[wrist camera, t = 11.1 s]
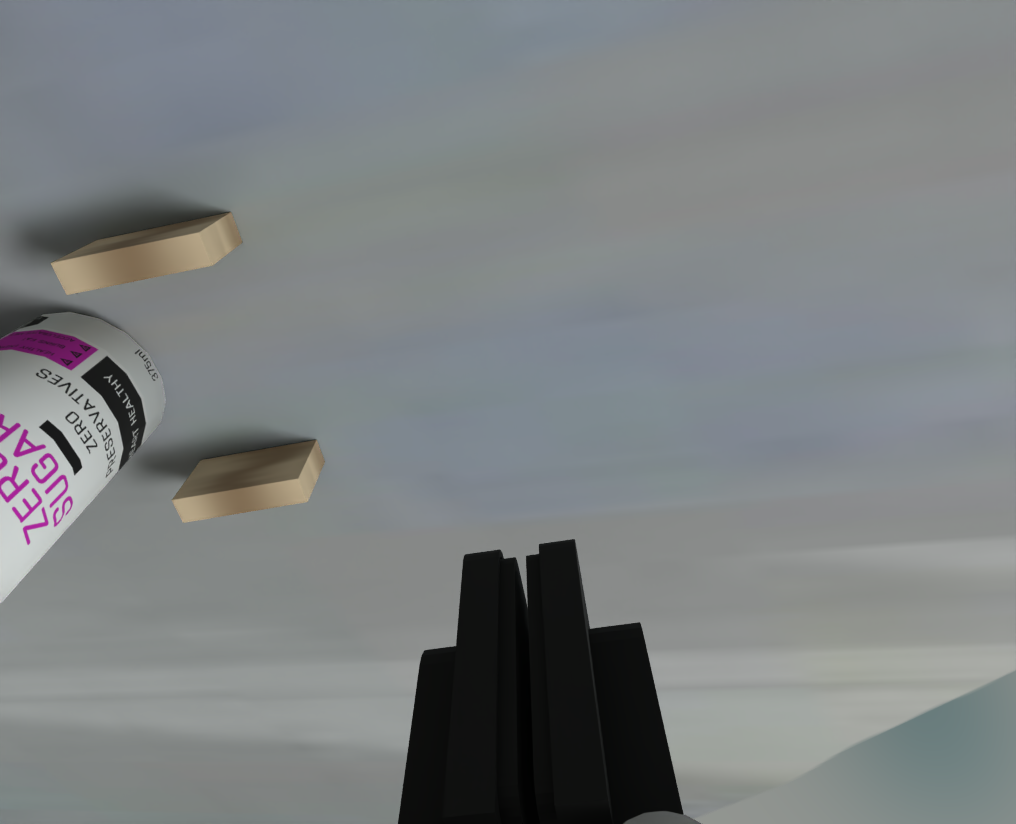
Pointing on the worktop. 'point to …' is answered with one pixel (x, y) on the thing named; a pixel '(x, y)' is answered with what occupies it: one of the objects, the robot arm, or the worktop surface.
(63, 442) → the supplement can
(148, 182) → the worktop surface
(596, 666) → the robot arm
